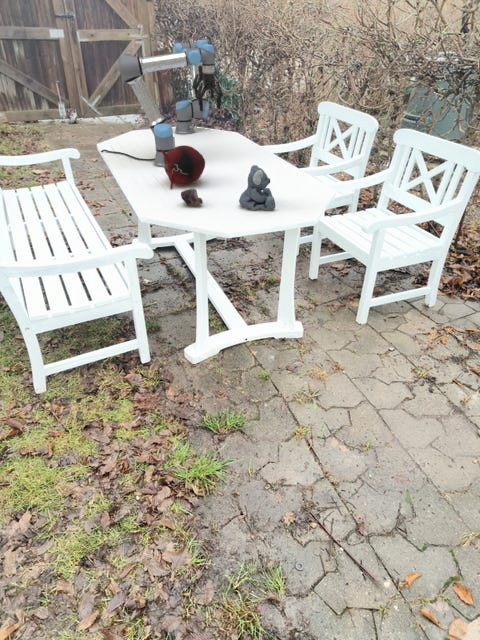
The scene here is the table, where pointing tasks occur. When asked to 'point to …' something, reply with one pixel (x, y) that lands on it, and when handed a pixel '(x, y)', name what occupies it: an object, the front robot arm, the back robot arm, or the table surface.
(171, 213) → the table surface
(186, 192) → the rock
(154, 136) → the front robot arm
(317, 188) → the table surface
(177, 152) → the red pot
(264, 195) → the koala plush
